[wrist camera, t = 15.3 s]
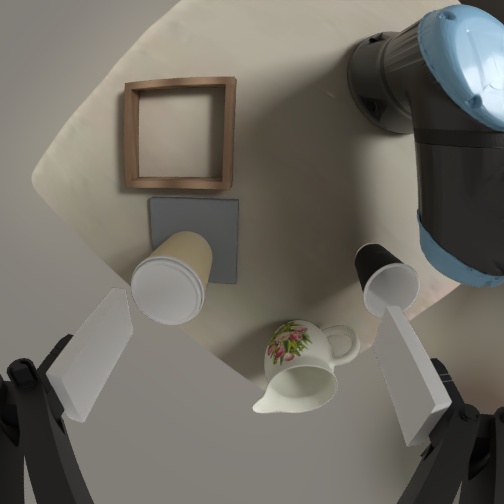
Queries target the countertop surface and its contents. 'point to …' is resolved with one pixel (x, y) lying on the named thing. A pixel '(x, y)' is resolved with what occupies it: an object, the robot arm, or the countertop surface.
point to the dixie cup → (385, 279)
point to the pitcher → (302, 367)
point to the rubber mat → (201, 228)
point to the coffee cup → (173, 279)
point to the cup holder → (133, 134)
